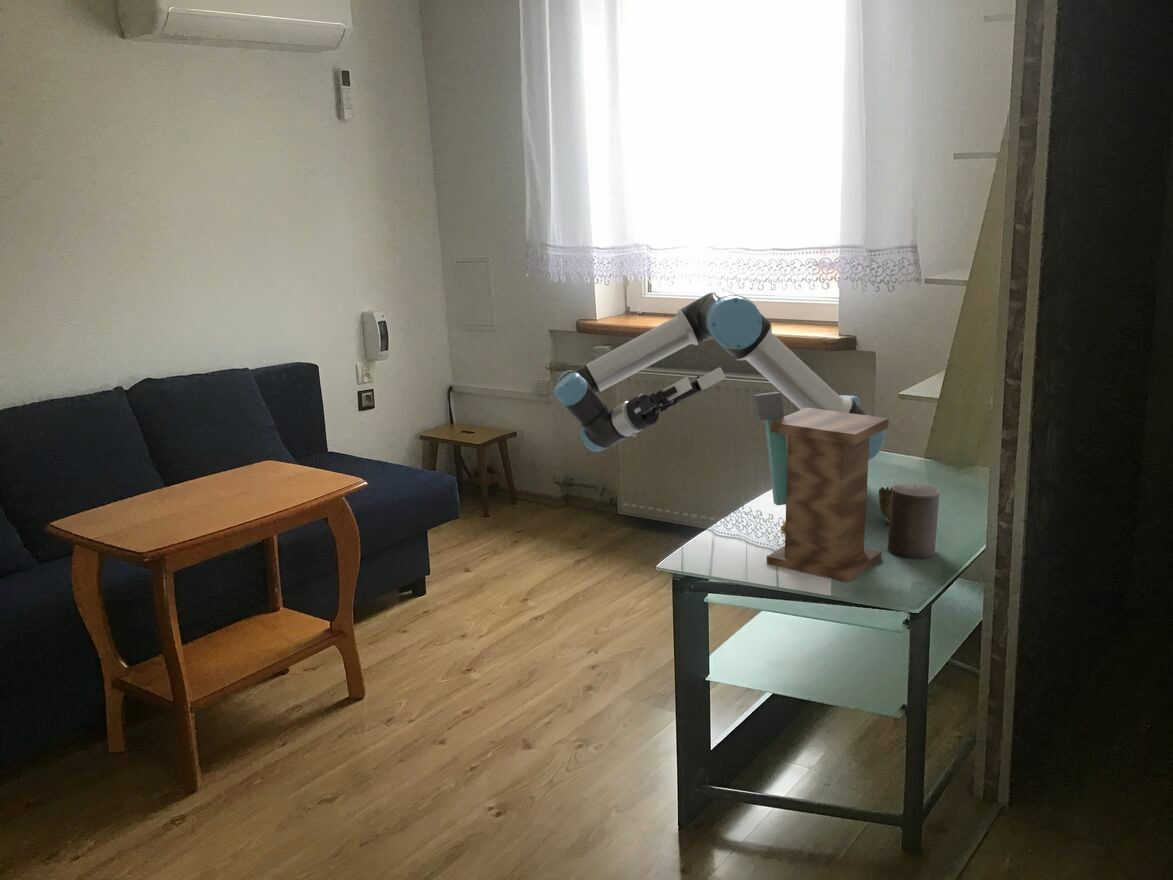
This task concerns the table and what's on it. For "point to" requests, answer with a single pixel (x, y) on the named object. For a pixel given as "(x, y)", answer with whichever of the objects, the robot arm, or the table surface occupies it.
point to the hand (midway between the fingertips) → (706, 377)
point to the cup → (885, 502)
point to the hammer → (773, 441)
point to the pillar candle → (913, 520)
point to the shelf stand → (826, 492)
